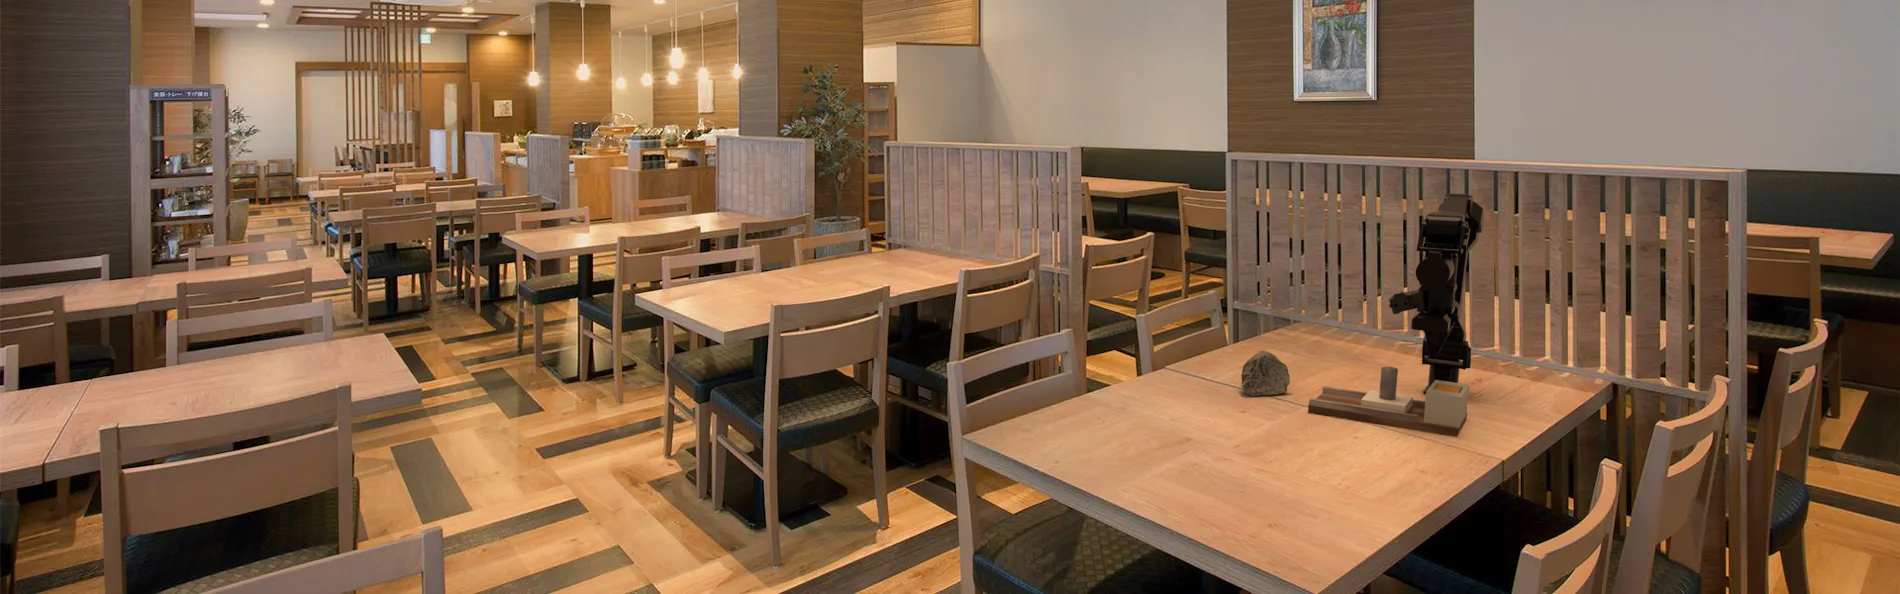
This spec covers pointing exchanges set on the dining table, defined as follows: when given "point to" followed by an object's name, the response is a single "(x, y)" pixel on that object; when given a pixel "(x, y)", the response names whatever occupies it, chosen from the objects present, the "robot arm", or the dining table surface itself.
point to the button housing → (1446, 404)
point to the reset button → (1448, 388)
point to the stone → (1264, 375)
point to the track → (1375, 412)
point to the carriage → (1388, 394)
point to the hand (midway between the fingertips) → (1432, 357)
